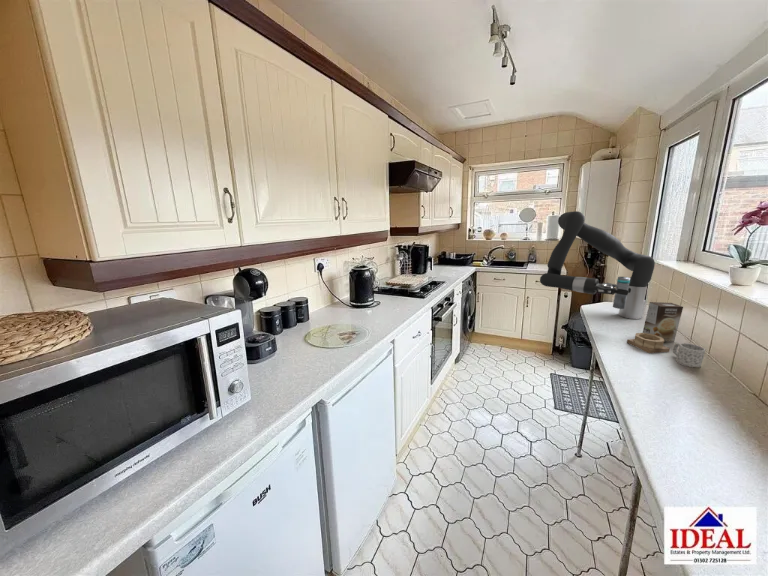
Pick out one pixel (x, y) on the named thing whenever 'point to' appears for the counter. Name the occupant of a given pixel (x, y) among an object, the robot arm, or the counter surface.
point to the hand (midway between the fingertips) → (629, 291)
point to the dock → (649, 350)
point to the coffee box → (663, 320)
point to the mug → (689, 354)
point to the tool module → (619, 298)
